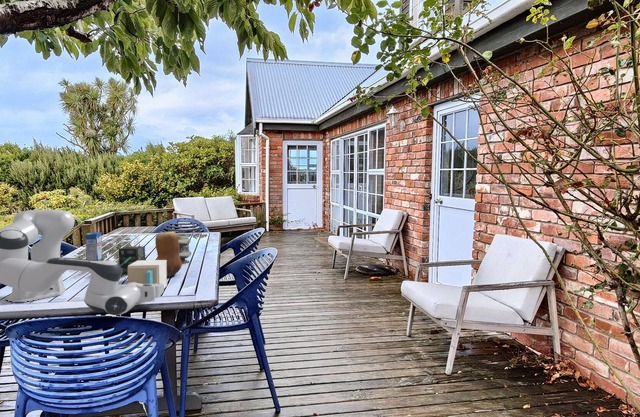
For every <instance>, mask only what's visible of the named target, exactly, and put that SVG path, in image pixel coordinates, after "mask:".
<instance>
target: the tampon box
mask: <svg viewBox="0 0 640 417" xmlns="http://www.w3.org/2000/svg"><path fill="white" fill-rule="evenodd" d="M139 260H146V246H144V245H143V246H142V245H141V246H139V245H137V246H133V245H132V246H124V247H121V248H120V247H119V248H118V264H119V265H120V267H121V268H122V271H123V273H122V275H128V269H127V268H128V265H130V264H132V263H134V262H136V261H139Z"/></svg>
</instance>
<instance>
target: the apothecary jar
mask: <svg viewBox="0 0 640 417" xmlns="http://www.w3.org/2000/svg"><path fill="white" fill-rule="evenodd" d="M177 236H178V240H179V256H180V259H181V261H182V265H185V264H186V263H187V264H189V263H190V260H187V259H188V258H189V257H191V256H192V252H191V251H190V248H189V247H190V246H189V244H190V243H191V239H190V238H189V235H188V234H177Z"/></svg>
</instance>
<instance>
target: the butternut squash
mask: <svg viewBox="0 0 640 417" xmlns="http://www.w3.org/2000/svg"><path fill="white" fill-rule="evenodd" d="M177 235H178V233H176V232H175V231H172V230H171V231H166V232H163V231H162V232H158V233H157V234H156V236H155V240H154V241H155V250H156V255H157V256H156V260H167V278H169V277H175V276H176V275H177V274H178V272H179V271H180V270H181V269H182V265H183V264H182V261H181V259H180V256H179V240H178V236H177Z"/></svg>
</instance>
